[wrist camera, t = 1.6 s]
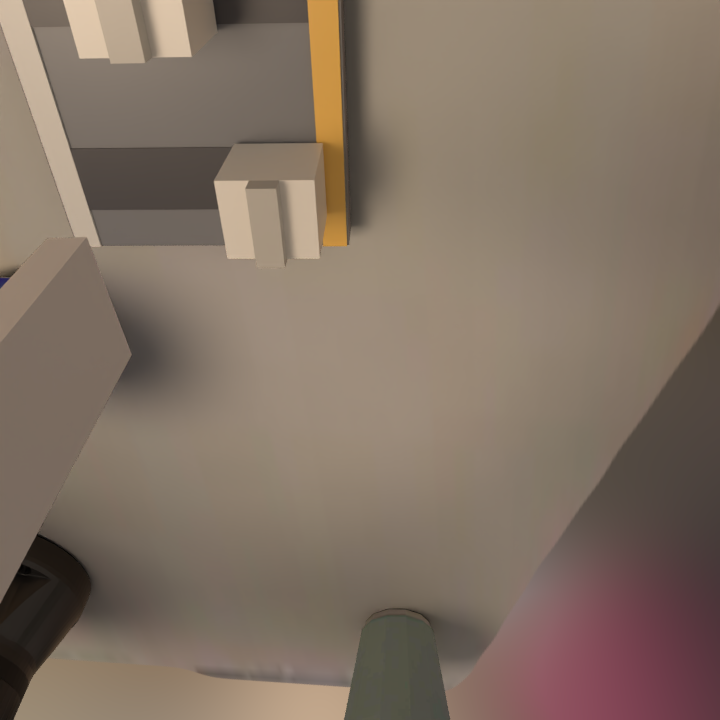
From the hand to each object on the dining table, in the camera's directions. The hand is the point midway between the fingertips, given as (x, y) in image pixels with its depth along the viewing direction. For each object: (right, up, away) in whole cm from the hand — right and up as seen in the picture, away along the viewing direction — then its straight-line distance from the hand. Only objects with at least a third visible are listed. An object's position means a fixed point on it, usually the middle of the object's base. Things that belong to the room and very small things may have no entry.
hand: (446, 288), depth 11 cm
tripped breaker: (-9, +13, +12) cm, 20 cm away
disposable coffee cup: (+2, -26, +47) cm, 54 cm away
